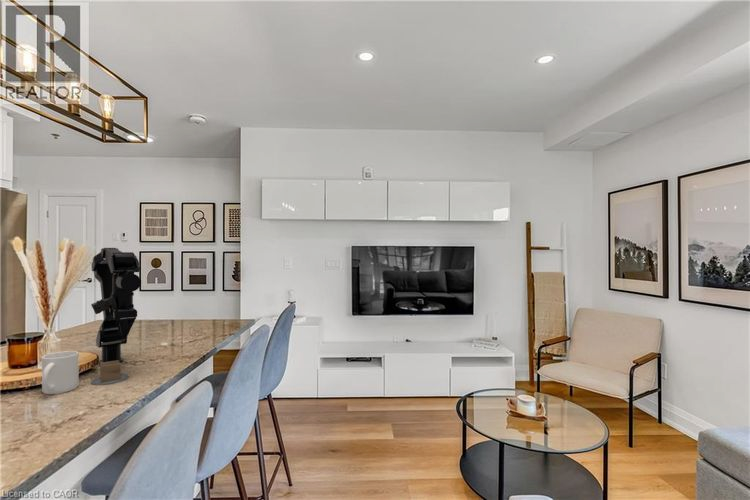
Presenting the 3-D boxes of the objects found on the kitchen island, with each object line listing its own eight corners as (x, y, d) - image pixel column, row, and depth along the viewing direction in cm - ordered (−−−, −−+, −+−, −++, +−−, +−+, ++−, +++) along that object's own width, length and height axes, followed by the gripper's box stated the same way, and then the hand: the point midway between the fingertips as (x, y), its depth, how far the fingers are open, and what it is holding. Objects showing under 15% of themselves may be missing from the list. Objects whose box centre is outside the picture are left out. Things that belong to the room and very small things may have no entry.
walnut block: (100, 378, 122) (100, 362, 122) (119, 375, 125) (119, 360, 125) (101, 382, 118) (101, 366, 118) (120, 379, 121) (120, 363, 121)
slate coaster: (89, 378, 122) (89, 378, 122) (127, 372, 128) (127, 371, 128) (91, 387, 114) (91, 387, 114) (131, 380, 120) (131, 379, 120)
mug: (59, 399, 105) (59, 361, 105) (25, 401, 104) (25, 363, 104) (84, 383, 117) (84, 350, 117) (53, 385, 116) (53, 351, 116)
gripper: (91, 288, 131) (91, 334, 131) (94, 293, 117) (94, 345, 117) (130, 286, 138) (130, 330, 138) (137, 291, 124) (137, 339, 124)
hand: (122, 335), depth 129 cm, fingers open, 9 cm apart
